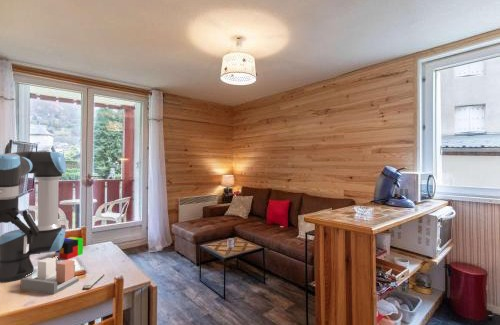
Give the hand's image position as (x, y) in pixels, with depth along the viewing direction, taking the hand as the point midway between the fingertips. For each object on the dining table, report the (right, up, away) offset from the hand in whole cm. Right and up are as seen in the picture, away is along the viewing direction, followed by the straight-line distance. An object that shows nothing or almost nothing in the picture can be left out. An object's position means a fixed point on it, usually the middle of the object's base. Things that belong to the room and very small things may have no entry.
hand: (2, 253), depth 93 cm
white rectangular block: (-10, -24, +32) cm, 41 cm away
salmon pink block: (+1, -24, +30) cm, 39 cm away
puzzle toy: (-23, -25, +66) cm, 74 cm away
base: (-5, -26, +29) cm, 39 cm away
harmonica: (+14, -27, +32) cm, 44 cm away
